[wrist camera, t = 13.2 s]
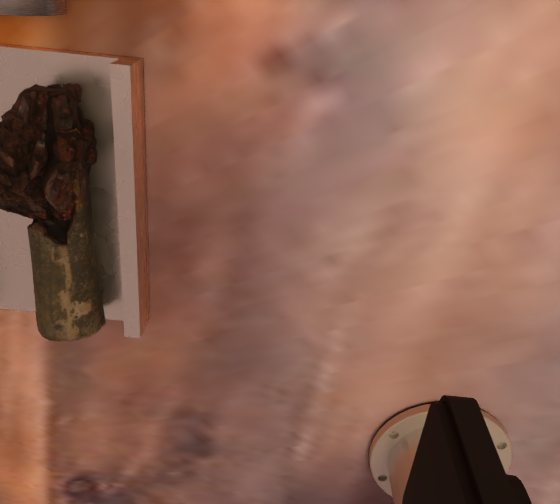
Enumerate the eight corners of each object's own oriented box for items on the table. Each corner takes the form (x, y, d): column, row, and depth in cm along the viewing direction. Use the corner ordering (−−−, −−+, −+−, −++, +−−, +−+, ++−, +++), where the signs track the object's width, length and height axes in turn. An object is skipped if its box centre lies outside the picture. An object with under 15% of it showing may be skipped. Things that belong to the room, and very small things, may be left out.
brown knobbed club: (113, 311, 43) (87, 357, 38) (28, 300, 42) (-9, 345, 37) (105, 82, 34) (69, 102, 29) (-1, 69, 34) (-54, 86, 29)
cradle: (150, 315, 44) (140, 338, 41) (-15, 299, 44) (-36, 320, 41) (143, 58, 34) (129, 65, 32) (-66, 36, 34) (-98, 42, 32)
